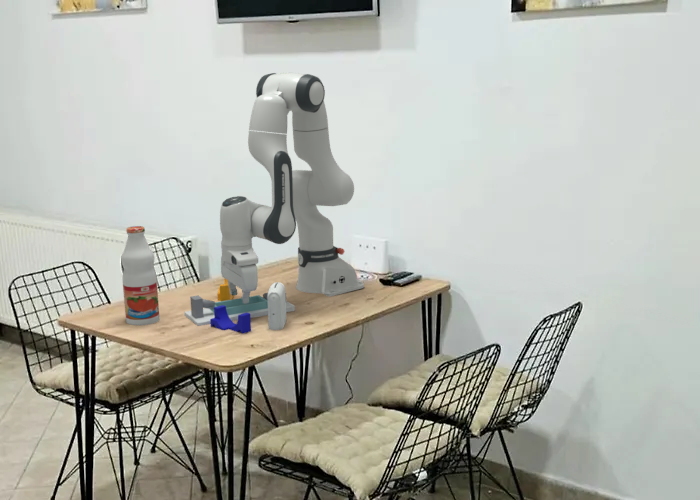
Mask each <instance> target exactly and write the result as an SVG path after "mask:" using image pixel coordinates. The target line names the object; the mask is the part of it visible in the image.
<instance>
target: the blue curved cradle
mask: <svg viewBox="0 0 700 500" xmlns="http://www.w3.org/2000/svg"><path fill="white" fill-rule="evenodd" d="M214 316H215V318H212V319H210V321H211V324H210V327H211V328H212V327H215V329H219V330H221V331H227V330H230V331H233V332H236V333H240V332H241V334H246V333H250V332H252V325H251V324H252V323H251V319H252V318H250V313H243V314H240V315H238V320H237V322H236V323H235V322H234V321H231V319H230V318H229V316H228V314H227V311H226V306H224V305H221V306H218V307H214Z"/></svg>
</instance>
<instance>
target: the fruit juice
mask: <svg viewBox="0 0 700 500" xmlns="http://www.w3.org/2000/svg"><path fill="white" fill-rule="evenodd" d="M126 234H127V240H126V243H125V246H124V250H123V252H122V254H121V259H120V261H121V264H122V267H123V272H122V279H121V280H122V290H123V291H122V292H123V303H124V314H125V322H126V324H128V325H132V326H146V325H147V326H148V325H151V324H154V323H155V324H156V323H157V322H159V321H160V305H159V295H158V294H159V293H158V277H157V273H156V269H155V267H154V264H155V254H154V252H153V250H152V249H151V248H150V245H149V243H148V241H147V239H146V237H145V226H141V225H133V226H128V227H127V228H126Z"/></svg>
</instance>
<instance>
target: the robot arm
mask: <svg viewBox="0 0 700 500" xmlns="http://www.w3.org/2000/svg"><path fill="white" fill-rule="evenodd" d="M255 90H256V91H255V95H256V98H255V100H254V102H253V105H252V106H253V107H252V111H251V115H250V120H249V126H248V127H249V128H248V137H247V138H248V141H247V143H248V146H247V147H248V151H249V153H250V155H251V157H253V159H254V160H255V161H256V162H257V163H259V164H260V165H262V166H263V167H264V168H265V169H266V171H267V172H268V174H269V176H270V179H271V180H270V181H271V206H268V205H266V204H261V203H257V202H253V201H252V200H249V199H248V198H247V197H246V196H241V195H237V196H232V197H228V198H226V199H225V200H224V201H222V203H221V206H220V211H219V226H220V232H221V241H220V244H221V246H220V247H221V256H220V274H221V276H222V278H225V279H227V280H228V285H229V288H230V294H231V295H233V297H234V296H237V295H238V289H237V287H238V288H239V289H240V290H241V293H242V296H241V297H240V298H241V299H242V302H243V303H244V304H246V303H249V297H250V295H251V292H255V291H257V289H258V284H259V283H258V281H259V280H258V278H259V277H258V276H259V275H258V273H259V272H258V266H257V264H259V257H258V254H256V251H254V248H253V238H255V237H256V238H259V239H263V240H266V241H268V242H271V243H274V244H276V245H283V244H285V243H287V242H288V241H289V240H291V238H292V237H293V236H294V234H295V232H296V230H297V231H298V232H297V234H298V246H299V247H298V248H297V261H298V276H297V281H296V282H297V283H296V286H295V289H296V290H297V291H299V292H302V293H309V294H323V295H324V296H326V297H334V296H338V295H341V294H346V293H350V292H353V291H358V290H361V289H364V288H365V285H364V282H363V280H360V279H358V277H357V272H356V269H355V268H354V267H353V266H352V265H351V264H350V263H348V262H347V261H345V260H344V259H343V258H341V257H340V256H339V255H344V254H345V249H344V248H342V247H337V246H334V226H333V223H332V221H331V220H330V219H329V218H328V217H326V216H324V215H323V214H322V213H321V212H320V210H319V209H318V207H317V206H319V207H321V206H323V207H336V206H343V205H347V204H348V203H350V201H351V200H352V199H353V196H354V193H355V184H354V181H353V179H352V177H351V176H350V175H349V174H348V173H346V171H344V170H343V169H342V168H341V167H340V166H339V164H338V162H337V161H336V160H335V158H334V156H333V152H332V148H331V143H330V134H329V133H330V132H329V120H328V115H327V108H326V104H325V97H326V96H325V94H326V92H325V91H326V90H325V86H324V84H323V82H322V80H321V79H320V78H319V76H315V75H312V74H309V73H299V72H285V73H284V72H283V73H282V72H281V73H277V72H273V73H268V74H264V75H262V76H261V78H260V79H259V81H258V82H257V86H256V89H255ZM290 112H291V113H292V114H291V115H292V118H291V120H292V121H291V123H292V124H291V125H292V137H293V140H292V141H293V151H294V152H295V155H296V156H297V158H299V159H300V160H302V161H303V162H305V163H307V165H308V166H309V167H310V170H306V169H305V170H303V169H295V170H294V169H293V166H292V165H293V164H292V159H291V157H290V155H289V153H288V144H287V136H288V115H289V113H290Z"/></svg>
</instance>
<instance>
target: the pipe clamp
mask: <svg viewBox="0 0 700 500" xmlns="http://www.w3.org/2000/svg"><path fill="white" fill-rule="evenodd" d="M223 278H224V277H223ZM216 295H217V302H221V301H226V300H232V299H234V296H233V295H231V294H230V288H229V285H228V280H227V279H225V278H224V284H223V283H221V284H220V285H219V287H218V291H217V294H216Z"/></svg>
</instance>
